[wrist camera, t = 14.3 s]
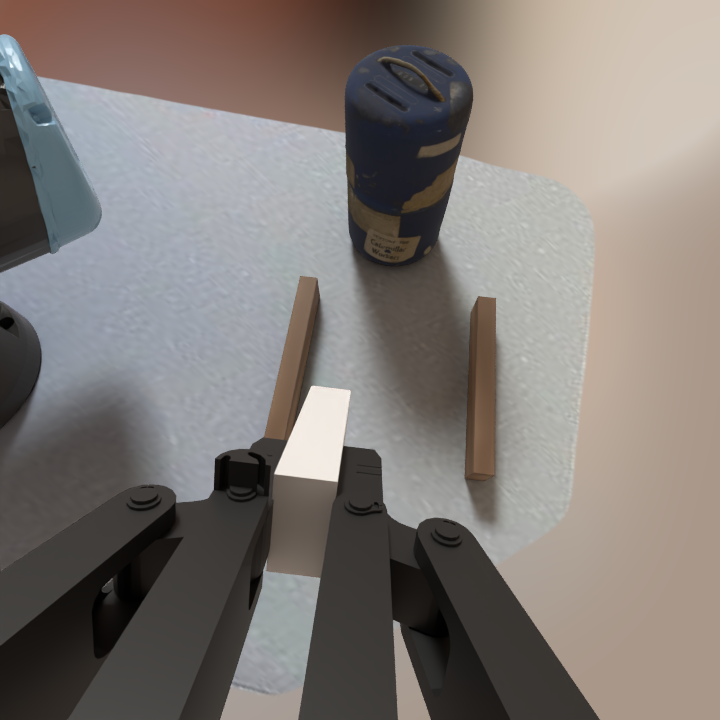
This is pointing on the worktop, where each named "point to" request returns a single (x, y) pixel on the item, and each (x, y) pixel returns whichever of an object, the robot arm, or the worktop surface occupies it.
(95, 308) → the worktop surface
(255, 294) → the worktop surface
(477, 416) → the walnut chute
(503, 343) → the worktop surface
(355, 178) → the canister
